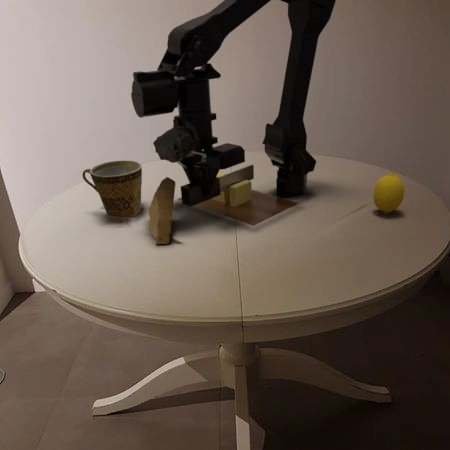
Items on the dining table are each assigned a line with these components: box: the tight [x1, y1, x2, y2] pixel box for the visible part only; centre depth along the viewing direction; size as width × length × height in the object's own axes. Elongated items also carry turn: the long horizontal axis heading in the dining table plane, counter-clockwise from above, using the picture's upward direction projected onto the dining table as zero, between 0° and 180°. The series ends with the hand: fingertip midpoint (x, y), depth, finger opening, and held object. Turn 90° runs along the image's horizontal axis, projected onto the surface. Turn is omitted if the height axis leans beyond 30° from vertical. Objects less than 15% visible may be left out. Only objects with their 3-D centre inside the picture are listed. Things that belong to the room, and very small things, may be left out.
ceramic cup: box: [82, 160, 143, 223], centre depth 94 cm, size 13×10×10 cm
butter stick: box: [211, 172, 230, 203], centre depth 100 cm, size 5×8×4 cm, turn 46°
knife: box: [180, 164, 255, 208], centre depth 93 cm, size 19×2×4 cm, turn 136°
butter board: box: [176, 189, 299, 227], centre depth 98 cm, size 14×22×1 cm, turn 46°
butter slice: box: [230, 180, 253, 207], centre depth 96 cm, size 5×2×4 cm, turn 135°
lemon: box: [372, 172, 405, 215], centre depth 89 cm, size 6×6×8 cm
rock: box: [147, 176, 176, 245], centre depth 87 cm, size 11×9×10 cm
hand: (201, 194), depth 90 cm, fingers closed on knife, 2 cm apart
